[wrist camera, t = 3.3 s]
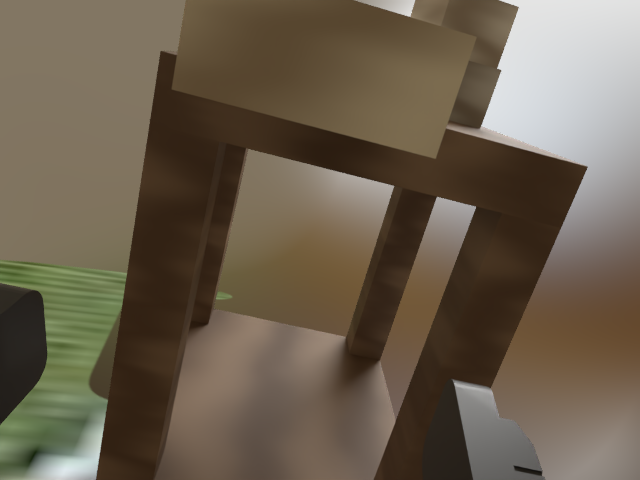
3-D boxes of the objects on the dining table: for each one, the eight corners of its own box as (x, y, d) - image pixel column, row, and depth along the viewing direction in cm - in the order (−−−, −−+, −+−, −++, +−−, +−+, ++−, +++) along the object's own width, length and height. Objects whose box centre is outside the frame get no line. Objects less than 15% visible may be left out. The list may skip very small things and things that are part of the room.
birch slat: (338, 86, 31) (346, 52, 31) (435, 158, 9) (476, 37, 8) (266, 66, 31) (273, 31, 30) (171, 89, 8) (193, -48, 8)
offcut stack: (448, 116, 32) (482, 16, 30) (480, 128, 26) (524, 6, 25) (383, 98, 32) (413, -5, 30) (401, 107, 26) (440, -20, 24)
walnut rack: (333, 464, 46) (452, 115, 36) (353, 700, 29) (587, 166, 19) (157, 432, 44) (230, 54, 34) (68, 664, 27) (160, 50, 17)
